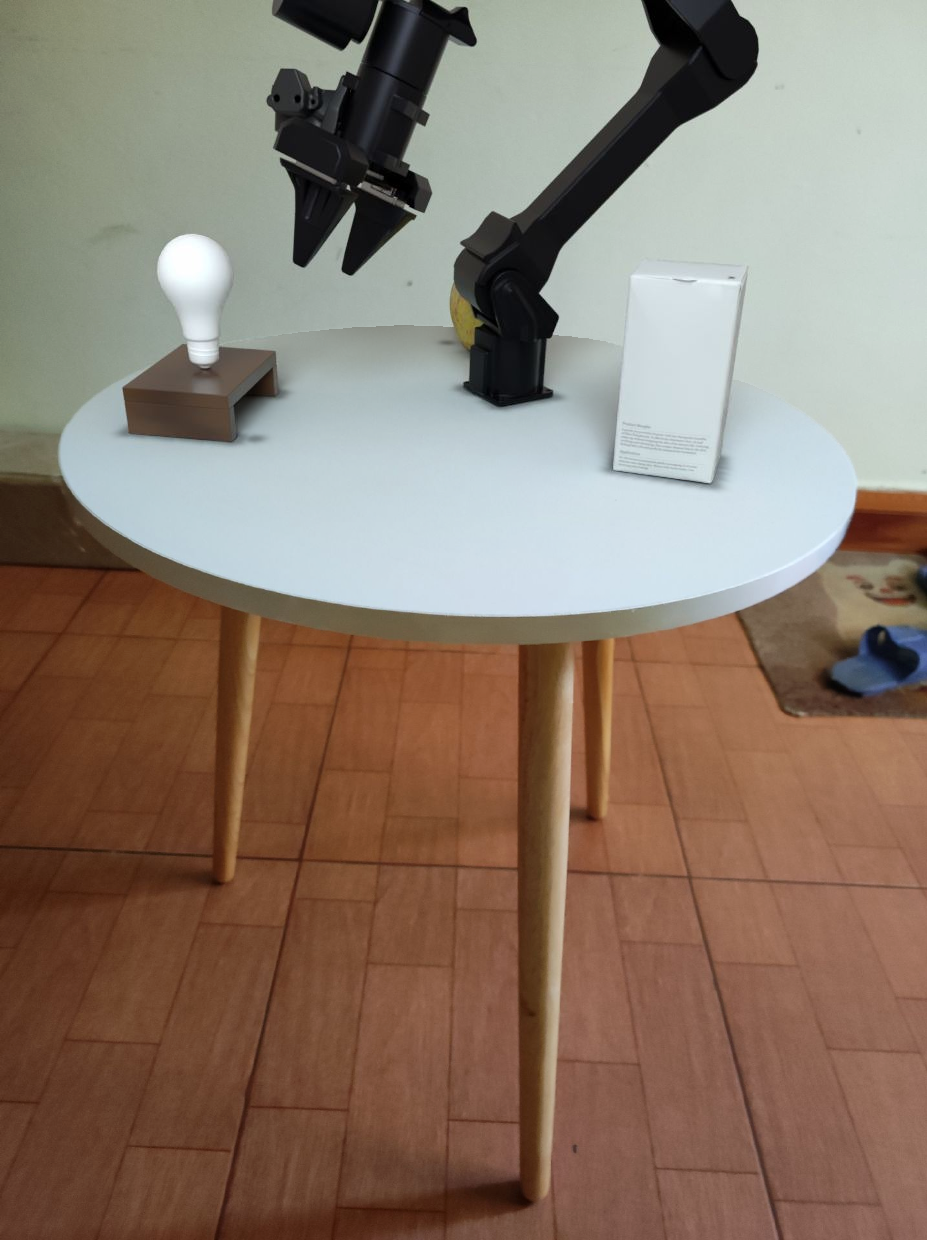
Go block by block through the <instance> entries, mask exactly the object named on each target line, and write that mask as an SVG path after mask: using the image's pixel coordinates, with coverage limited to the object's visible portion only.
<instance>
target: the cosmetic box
mask: <svg viewBox="0 0 927 1240" xmlns="http://www.w3.org/2000/svg"><path fill="white" fill-rule="evenodd" d="M748 273H749V265H745V264H744V265H742V264H731V263H717V262H715V263H714V262H704V261H703V262H702V261H701V262H700V261H686V260H674V259H660V258H651V257H645V258H644V259H643V261H642V262H641V263H640V264H639V265H638V266H637V267H636V268H635V269H634V270H633V272H632V273H631V274H630V275H629V276H628V289H627V299H626V312H625V321H624V323H625V325H624V338H623V345H622V346H623V347H622V357H621V366H620V367H621V368H620V380H619V392H618V403H617V414H616V425H615V437H614V447H613V462H612V470H613V471H615V472H622V473H623V472H624V473H632V474H639V475H645V476H655V477H661V478H668V479H675V480H681V481H682V480H683V481H691V482H696V483H704V484H712V482H713V480H714V478H715V474H716V472H717V469H718V466H719V462H720V459H721V456H722V451H723V445H724V438H725V437H724V436H725V431H726V424H727V417H728V411H729V405H730V397H731V392H732V391H731V390H732V384H733V383H732V382H733V376H734V370H735V363H736V358H737V357H736V356H737V350H738V343H739V337H740V329H741V323H742V322H741V321H742V315H743V309H744V302H745V295H746V288H747V281H748V275H749V274H748Z"/></svg>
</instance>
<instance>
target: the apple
mask: <svg viewBox="0 0 927 1240" xmlns="http://www.w3.org/2000/svg"><path fill="white" fill-rule="evenodd" d="M449 314H450V318H451V323H452V325H453V328H454V331H455V333H456V336H457V338H458V340H459V341H460V343H461V344H462V346H464V347H465V348H466V349H467V350H468V351H470V347H471V345H473V344H474V330H475V327H479V326H481V325H482V324H483V322H481V321H480V320H479V319H476V318H475V317H474V316H473V313H472V310H471V307H470V304H469V302H467V301H466V300H465V299H464V298H462V297H461V296H460V294H459V293H458V291H457V289H456V287H455V283H454V282H453V283H452V286H451V289H450V294H449Z"/></svg>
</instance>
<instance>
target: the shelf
mask: <svg viewBox="0 0 927 1240" xmlns="http://www.w3.org/2000/svg"><path fill="white" fill-rule="evenodd" d="M277 363H278V362H277V352H276V350H269V349H258V348H257V349H255V348H243V347H229V346H219V360H218V361H217V362H216V363H214V364H212V366H211V367H210V368H200V367H199V366H198V365H197V364H194V363H192V362H191V361H190V358H189V352H188V347H187V343H182V344H180V345H178V347H176V348H174V349H173V350H172V351H170V352H169V353H168V354H166V355H165V356H163V357H162V358H161V359H159V360H158V361H157V362H155V363H153V364H152V365H150V367H148V368H147V369H145V370H143V372H141V373H140V374H139V375H137V376H136V377H134V378H133V379H132V380H130V381H129V382H128V383H126V384H125V385H123V386H122V395H123V402H124V403H123V404H124V408H125V409H124V410H125V414H126V415H125V416H126V421H127V427H128V429H127V430H128V434H134V435H146V436H157V437H170V438H180V439H181V438H182V439H193V440H205V441H217V442H227V443H232V442H233V441H235V439H236V438H237V427H236V416H235V406H234V405H235V404H236V403H237V402H238V401H240V400H241V398H242V397H243V396H245V395H249V396H262V397H273V398H274V397H275V398H276V397H277V395H278V394H279V393H280V391H279V379H278V378H279V377H278V365H277Z"/></svg>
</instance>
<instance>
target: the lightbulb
mask: <svg viewBox="0 0 927 1240" xmlns="http://www.w3.org/2000/svg"><path fill="white" fill-rule="evenodd" d="M156 264H157V265H156V272H157V280H158V283H159V285H160V288H161V290H162V291H163V293H164V295H165V296H166V298H167V300H168V301H169V303H170V304H171V305H172V307H173V309H174V310H175V313H176V315H177V317H178V319H179V322H180V327H181V331H182V336H183V338H184V339H185V340H186V344H187V347H188V352H189V358H190V361H191V362H192V363H194V364H197V365H198V366H199V367H200V368H210V367H211V366H212V364H214V363H216V362H217V361H218V360H219V347H220V345H219V344H220V342H219V338H220V337H221V333H222V331H221V329H222V328H221V327H222V326H221V323H222V315H223V312H224V311H223V310H224V307H225V305H226V302H227V300H228V298H229V296H230V293H231V290H232V287H233V284H234V278H235V277H234V275H235V274H234V268H233V264H232V261H231V259H230V257H229V255H228V253H227V252H226V251H225V249H224V248H223V247H222V246H221V244H219V243H218V242H217V241H215V240H213V239H212V238H211V237H208V236H206V235H203V234H198V233H185V234H181V235H179V236H177V237H175V238H173V239H171V240H170V241H169V242H167V244H166V245H165V246H164V248H163V249H162V250H161V252H160V254H159V256H158V259H157V263H156Z"/></svg>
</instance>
